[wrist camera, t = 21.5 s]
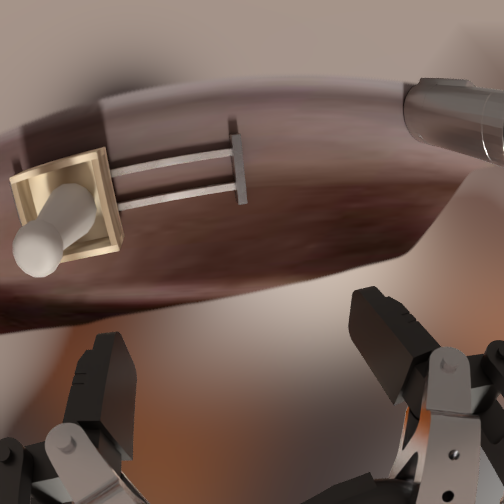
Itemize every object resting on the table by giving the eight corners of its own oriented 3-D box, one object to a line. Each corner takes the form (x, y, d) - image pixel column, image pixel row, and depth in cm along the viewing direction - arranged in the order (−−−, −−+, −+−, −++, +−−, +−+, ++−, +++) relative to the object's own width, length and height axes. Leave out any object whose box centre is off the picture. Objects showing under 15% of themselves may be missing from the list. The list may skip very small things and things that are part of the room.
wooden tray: (29, 167, 28) (9, 177, 24) (107, 145, 30) (96, 151, 26) (51, 247, 33) (36, 267, 28) (125, 231, 35) (119, 250, 30)
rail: (237, 128, 33) (241, 129, 32) (244, 203, 37) (248, 208, 36) (12, 179, 29) (5, 183, 27) (32, 246, 33) (26, 252, 31)
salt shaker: (83, 238, 32) (46, 304, 20) (45, 210, 29) (-8, 263, 18) (110, 198, 31) (78, 250, 19) (71, 167, 28) (18, 202, 17)
